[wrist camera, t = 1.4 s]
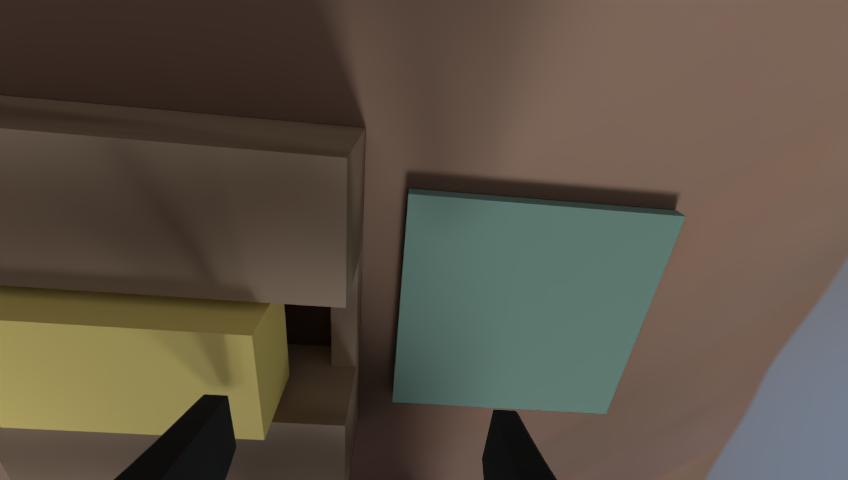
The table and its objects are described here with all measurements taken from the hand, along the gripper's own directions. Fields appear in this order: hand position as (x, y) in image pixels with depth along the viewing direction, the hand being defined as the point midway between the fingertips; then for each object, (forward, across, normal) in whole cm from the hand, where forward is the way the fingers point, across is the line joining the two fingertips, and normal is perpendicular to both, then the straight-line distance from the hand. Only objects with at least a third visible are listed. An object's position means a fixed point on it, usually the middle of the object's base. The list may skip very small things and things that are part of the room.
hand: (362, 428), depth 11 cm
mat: (+6, -6, 0) cm, 8 cm away
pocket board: (+6, +7, 0) cm, 9 cm away
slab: (+4, +7, 0) cm, 8 cm away
